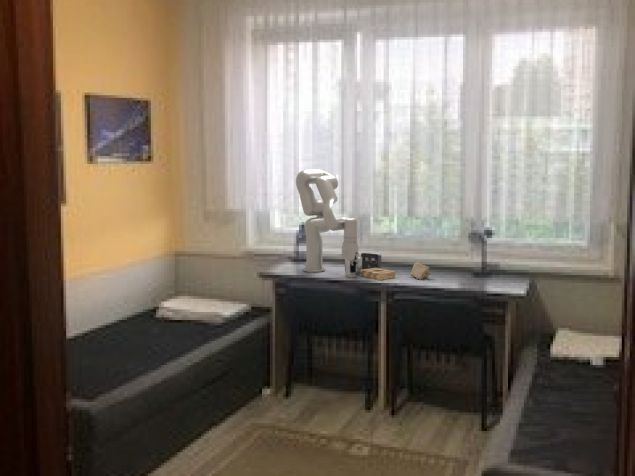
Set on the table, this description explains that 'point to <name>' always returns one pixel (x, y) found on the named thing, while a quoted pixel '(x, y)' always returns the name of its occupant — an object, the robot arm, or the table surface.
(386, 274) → the bore block
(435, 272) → the table surface
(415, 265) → the decorative stone
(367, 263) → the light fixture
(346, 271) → the square bit
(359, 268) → the round bit
